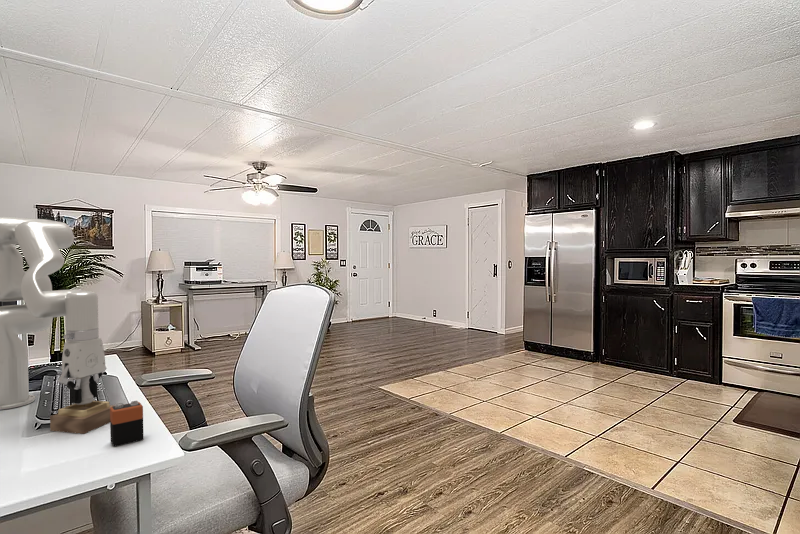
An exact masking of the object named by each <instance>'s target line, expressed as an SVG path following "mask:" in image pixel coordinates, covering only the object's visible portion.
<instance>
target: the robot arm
mask: <svg viewBox="0 0 800 534" xmlns="http://www.w3.org/2000/svg"><path fill="white" fill-rule="evenodd" d="M74 241H75V236H74V232H73V230H72V228H71V227H70V226H69V225H68V224H67V223H65V222H63V221H56V220H53V219H52V220H51V219H45V218H44V219H43V218H27V217H16V216H15V217H14V216H0V302H16V301H18V302H19V301H24V304H12V305H2V306H0V410H8V409H14V408H19V407H22V406H23V407H24V406H26V405H30V404H31V403H34V401H35V400H36V396H35V395H33V394H30V391H29V390H30V387H29V386H30V385H29V354H28V353H29V351H28V350H29V349H28V346H27V344H26V343H25V342H24V341H23V340H22V339H21V338H20V337H19V335H23V334H24V335H25V334H30V333H31V334H32V333H36V332H42V331H46V330H48V329H49V328H50V327H51V326H52V323H53V321H54V320H53V319H54V318H59V317H61V318H62V317H65V334H63V339H64V340H65V342H64V345H63V350H62V357H61V374H60V376H59V378H58V380H57V382H58V383H59V384H61V385H64V386H65V387H66V388H67V390H69V402H70V403H71V404H75V403H77V404H79V403H81V402H82V391H81V389H79V387H80V381H81V378H85V377H88V376H90V379H89V382H90V383H89V388H90V392H91V394H92V395H93V398H92V399H95V398H98V395H99V394H98V383H100V379H101V377H102V375H103V374H104V372H105V371H106V370H107V366H106V357H105V348H104V345H103V341H102V337H99V334H100V333H99V330H100V329H99V297H98V296H99V295H98V294H97V292H95V291H92V290H83V289H76V288H73V289H58V290H53V284H52V281H51V279H50V276H49V275H52V274H54V273H55V272H58V271H59V270H60V269H61V268H62V267H63V266H64V264H65V257H64V256H63V254H62V252H61V250H63V249H65V250H66V249H68V248H70V247H72V246H73V244H74ZM14 245H18V246H19V248H20V251H21V253H22V254H21V253H20V252H19V250H18V249H17V248H16V247H15V246H14ZM60 249H61V250H60ZM23 257H24V258H23ZM24 259H25V261H26V263H27V265H28V267H29V268H28V269H27V270H26V271H25V270H24Z"/></svg>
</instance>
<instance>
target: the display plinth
mask: <svg viewBox="0 0 800 534" xmlns="http://www.w3.org/2000/svg"><path fill="white" fill-rule="evenodd" d="M113 406H114V404H113V405H112V404H110V401H103V400H93V402H91V403H89V404H85V405H76V404H75V403H71V404H70V405H68V406H64V407H62V408H58V409H57V412H58V413H56V414H52V415H49V430H50V432H58V433H59V432H60V433H69V434H78V433H80V434H81V435H85V434H88V433H90V432H92V431H94V430H96V429H99V428H101V427H103V426H105V425H108V424H110V408H111V407H113Z"/></svg>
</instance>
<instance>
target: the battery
mask: <svg viewBox="0 0 800 534" xmlns="http://www.w3.org/2000/svg"><path fill="white" fill-rule="evenodd" d="M113 405H114V406H113V407H111V408H110V423H109V427H110V442H111V445H112V446H113V447H118V446H123V445H128V444H131V443H136V442H140V441H142V440H144V406H143V405H142V403H141V402H139V401H138V400H132V401H131V402H130V403H124V402H117V403H115V404H113Z"/></svg>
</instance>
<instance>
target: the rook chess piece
mask: <svg viewBox="0 0 800 534" xmlns="http://www.w3.org/2000/svg"><path fill="white" fill-rule="evenodd" d="M89 379H90V376H88V377H85V378H81V381H80V387H79V389H81V391H82V402H81V403H79V404H77V403H74V404H76V405H85V404H89V403H91V402H93V401H95V400H94V399H95V398H93V395H92V394H91V392H90V388H89V383H90V382H89Z"/></svg>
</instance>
